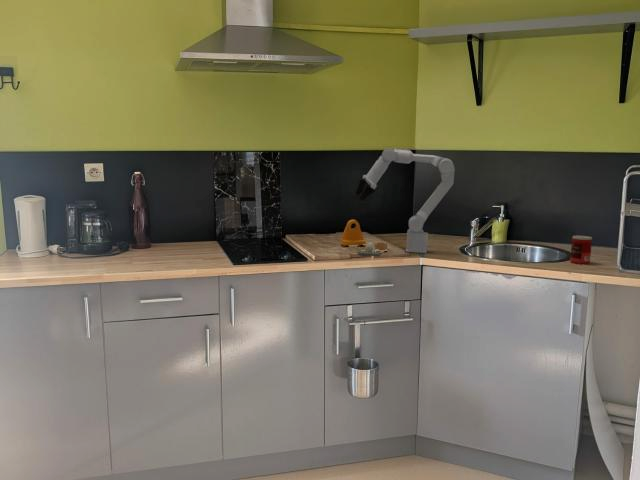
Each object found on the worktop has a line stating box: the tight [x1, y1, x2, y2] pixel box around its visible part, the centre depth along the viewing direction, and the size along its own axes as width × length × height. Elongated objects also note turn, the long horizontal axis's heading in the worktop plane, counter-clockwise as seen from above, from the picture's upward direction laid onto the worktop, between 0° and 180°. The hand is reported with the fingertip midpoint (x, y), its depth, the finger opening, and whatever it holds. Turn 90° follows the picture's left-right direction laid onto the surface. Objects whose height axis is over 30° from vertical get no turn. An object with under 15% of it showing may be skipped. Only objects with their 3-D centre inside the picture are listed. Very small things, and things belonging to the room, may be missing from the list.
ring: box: [374, 241, 388, 250], centre depth 275 cm, size 5×5×4 cm
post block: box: [357, 241, 381, 257], centre depth 267 cm, size 9×9×5 cm
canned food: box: [569, 235, 593, 265], centre depth 257 cm, size 8×8×11 cm
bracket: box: [340, 219, 366, 246], centre depth 287 cm, size 11×7×12 cm, turn 95°
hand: (358, 196), depth 276 cm, fingers open, 7 cm apart
